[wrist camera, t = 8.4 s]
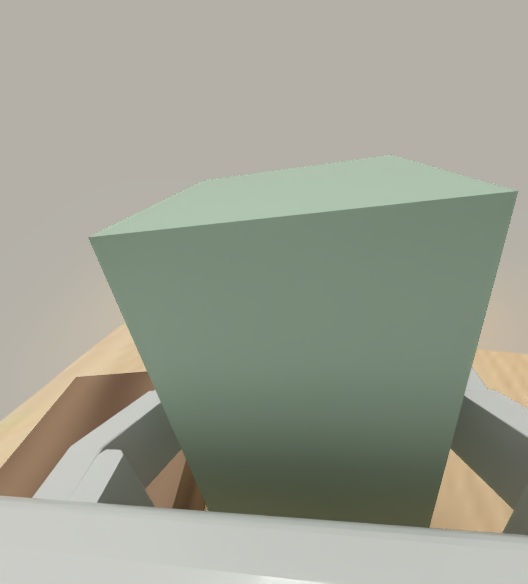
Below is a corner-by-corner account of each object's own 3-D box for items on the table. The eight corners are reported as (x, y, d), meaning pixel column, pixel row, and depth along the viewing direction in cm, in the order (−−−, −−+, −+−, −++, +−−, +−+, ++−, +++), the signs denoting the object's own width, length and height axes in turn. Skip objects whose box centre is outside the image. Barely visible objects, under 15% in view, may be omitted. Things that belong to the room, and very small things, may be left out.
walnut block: (225, 411, 20) (212, 366, 18) (174, 680, 10) (133, 645, 8) (101, 418, 20) (76, 377, 19) (-57, 672, 11) (-142, 639, 9)
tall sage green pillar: (371, 474, 14) (391, 154, 7) (401, 632, 10) (518, 190, 3) (268, 470, 15) (203, 180, 8) (253, 611, 10) (88, 236, 4)
